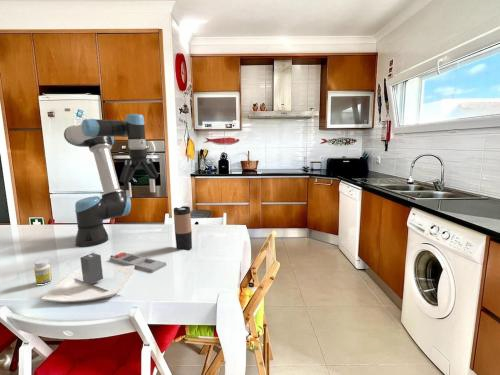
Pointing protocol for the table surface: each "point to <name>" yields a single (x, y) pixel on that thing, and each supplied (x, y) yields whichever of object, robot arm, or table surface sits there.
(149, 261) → the power strip
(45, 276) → the supplement bottle
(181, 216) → the travel mug
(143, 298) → the table surface
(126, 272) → the plate
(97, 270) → the block
